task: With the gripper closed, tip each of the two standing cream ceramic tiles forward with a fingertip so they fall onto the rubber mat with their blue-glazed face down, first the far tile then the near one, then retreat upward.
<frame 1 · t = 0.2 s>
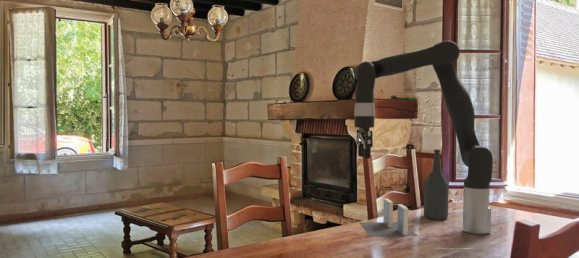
hand: (364, 157, 178), 29 cm above the table, fingers open, 8 cm apart
tile a: (387, 224, 188), resting on mat
bottle: (435, 218, 204), on the table
tile b: (402, 232, 176), resting on mat
mat: (387, 229, 181), on the table
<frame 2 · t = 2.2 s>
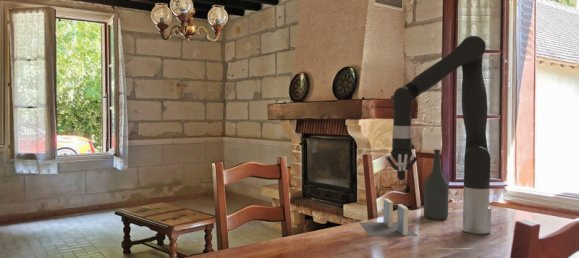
hand: (400, 179, 187), 19 cm above the table, fingers closed
nothing on the table moved.
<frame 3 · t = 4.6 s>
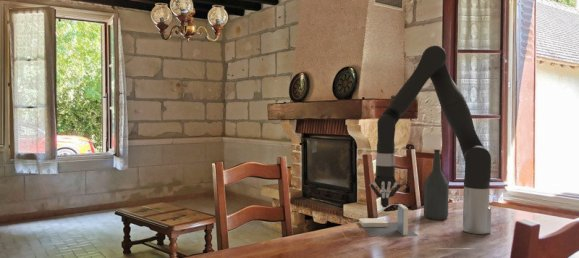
hand: (384, 207, 188), 8 cm above the table, fingers closed
tile a: (385, 222, 188), point 1 cm above the table, tilted 90°, touching mat
everything else where it was.
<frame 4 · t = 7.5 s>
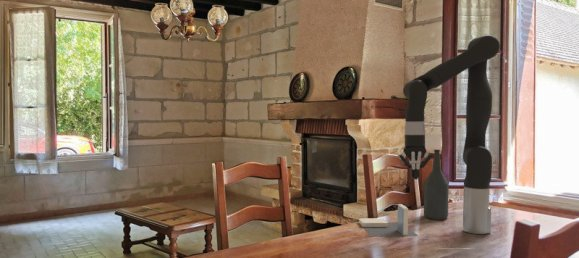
hand: (414, 179, 176), 21 cm above the table, fingers closed
nothing on the table moved.
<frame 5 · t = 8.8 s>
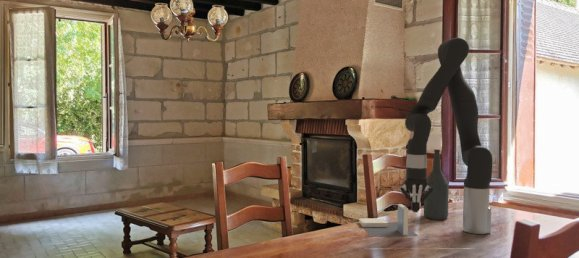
hand: (415, 211, 176), 8 cm above the table, fingers closed
nothing on the table moved.
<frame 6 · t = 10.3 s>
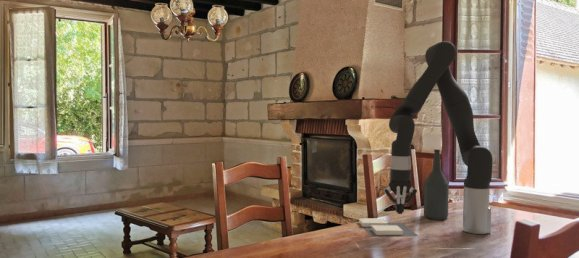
hand: (399, 213, 176), 8 cm above the table, fingers closed
tile b: (399, 230, 176), point 1 cm above the table, tilted 90°, touching mat
everything else where it was.
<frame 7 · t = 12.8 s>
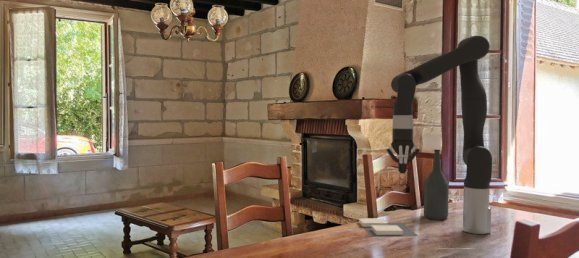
hand: (402, 173, 175), 23 cm above the table, fingers closed
nothing on the table moved.
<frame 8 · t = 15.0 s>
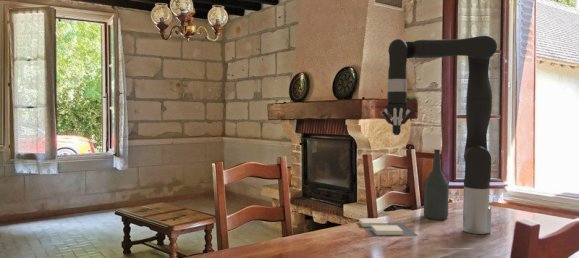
hand: (396, 134, 184), 37 cm above the table, fingers closed
nothing on the table moved.
at the end: tile a tilted 90°; tile b tilted 90°; tile a inside the target area on the mat (6.7 cm from its centre), point 1.3 cm above the mat's base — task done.
